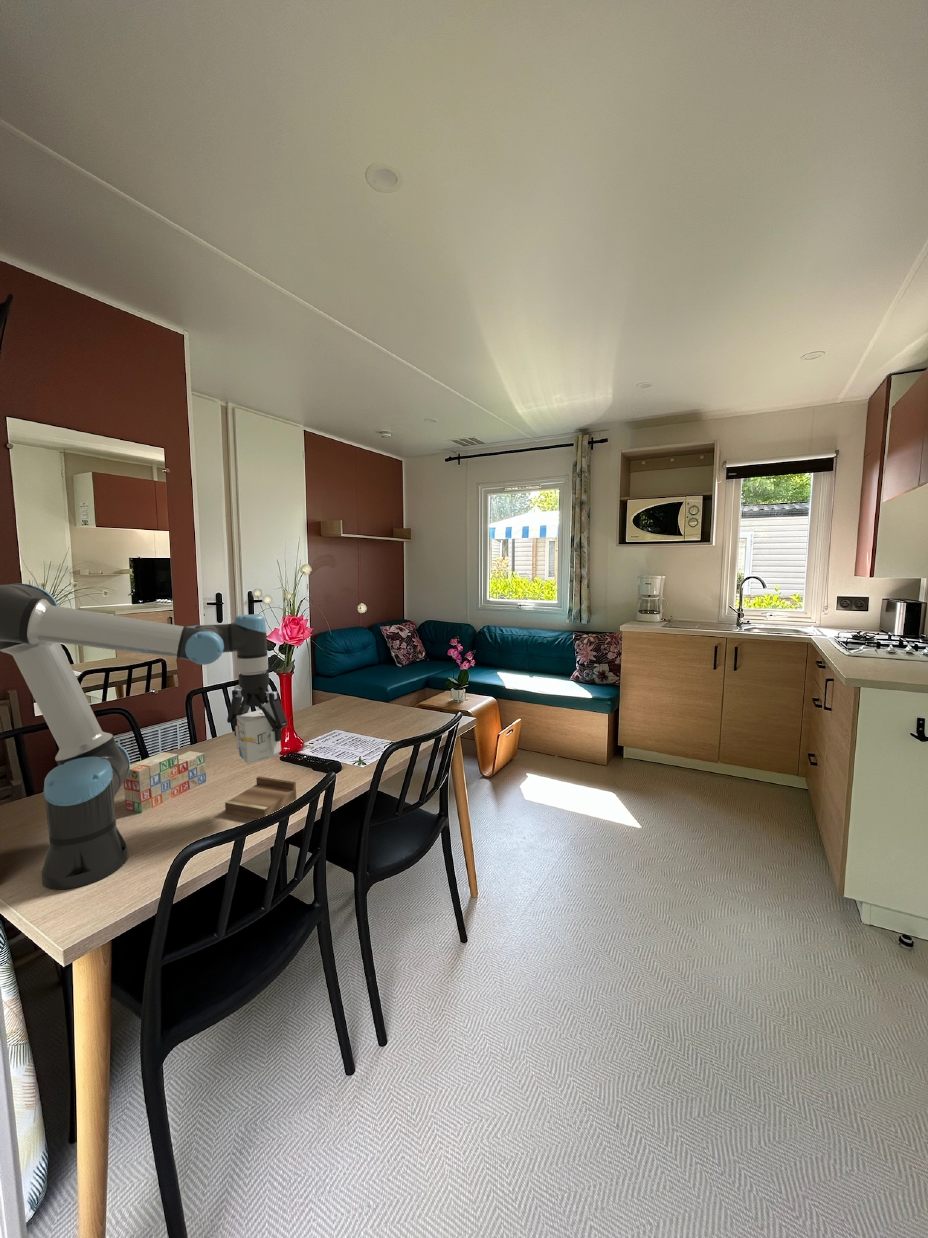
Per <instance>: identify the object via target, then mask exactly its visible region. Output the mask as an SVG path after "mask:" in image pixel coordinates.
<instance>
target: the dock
mask: <svg viewBox="0 0 928 1238" xmlns="http://www.w3.org/2000/svg"><path fill="white" fill-rule="evenodd" d="M255 781H256V784H255V785H253V786H251V787H250V788H248V789H246V790H244V791H242V792H241V793H239V794H238V795H236V796H235V797H233V798H231V799H229V800H227V801H225V802H224V804H225V805H224V806H225V807H224V809H225V814H227V815H232V816H238V817H244V818H249V819H253V820H259V818H262V817H265V816H266V815H269V814H271V813H273V812H275V811H277V810H279V809H280V808H282V807H283V806H285V807H287V806H288V805H290V804H291V803H293V802H294V801H295V800H296V799H297V784H296V781H291V780H284V779H278V778H272V777H266V776H265V777H264V776H257V777H256V780H255ZM286 805H287V806H286ZM282 809H283V808H282Z"/></svg>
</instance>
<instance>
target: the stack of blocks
mask: <svg viewBox="0 0 928 1238" xmlns="http://www.w3.org/2000/svg"><path fill="white" fill-rule="evenodd" d="M205 760H206V759H205V753H204V752H197V751H192V750H191V751H190V750H188V751H187V752H185V753H182V754H177V753H170V752H164V751H163V752H160V753H157V754H155V755H153V756H150V757H149V756H148V757H147V758H145V759H143V760H140V761H137V762H135V763H132V764H130V769H129V773H128V775H127V777H126V780H125V781H124V782H123V791H124V800H125V810H127V811H131V812H137V813H141V814H142V813H145V812H147V811H149V810H151V809H153V808H155V807H158V806H160V805H162V804H164V803H165V802H168V801H169V800H172V799H173V798H175V797H178V796H180V795H181V794H183V793H185V792H187V791H189V790H191V789H193V788H196V787H198V786H200V785H201V784H203V783H205V782H207V770H206V761H205Z"/></svg>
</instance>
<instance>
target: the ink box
mask: <svg viewBox="0 0 928 1238" xmlns="http://www.w3.org/2000/svg"><path fill="white" fill-rule="evenodd" d="M276 725H277V724H276ZM237 727H238V741H239V749H238V753H239V757H240V758H241V759H242V760H243V761H244V762H245V763H246V764H247V765H249V764H253V763H257V762H261V761H266V760H269V759H272V758H277V757H280V752H278V753H276V754H272V747H271V732H270V731H271V730H272V729H273V728H272V727H271V725H270V723H269V722H268V720H267V718H266V717H265V715H264V713H263V711H262V710H260V709H259V710H255V711H250V712H249V711H248V712H247V713H245V714H242V715H237Z"/></svg>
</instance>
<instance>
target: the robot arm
mask: <svg viewBox="0 0 928 1238" xmlns="http://www.w3.org/2000/svg"><path fill="white" fill-rule="evenodd" d="M267 641H268V640H267V628H266V619H265V617H264V616H263V615H262V614H257V613H256V614H254V613H253V614H242V615H241V614H240V615H236V616H235V617H234V621H233V622H232V623H224V624H203V625H202V624H197V625H190V626H183V625H179V624H178V625H177V624H172V623H164V622H158V621H153V620H152V621H151V620H145V619H140V618H133V617H126V616H120V615H115V614H110V613H109V614H107V613H101V612H96V611H90V610H83V609H77V608H76V609H75V608H70V607H64V606H59V604H58V602H57V600H56V598H55V597H54V596H53V595H52V594H51V593H50V592H49V591H47V590H45V589H43V588H41V587H39V586H36V585H32V584H29V583H16V582H15V583H10V584H0V652H2V653H4V654H5V653H6V654H9V655H11V656H12V658H13V659H14V661H15V663H16V665H17V667H18V669H19V671H20V673H21V675H22V677H23V679H24V681H25V683H26V685H27V687H28V689H29V691H30V693H31V695H32V697H33V699H34V701H35V703H36V704H37V706H38V709H39V711H40V712H41V714H42V716H43V719H44V720H45V723H46V725H47V726H48V728H49V730H50V732H51V734H52V736H53V738H54V740H55V743H56V744H57V746H58V751H57V754H56V755H55V758H54V759H55V761H56V763H57V766H56V767H53V769H52V770H50V771H49V772H48V773H47V774H46V777H45V778H44V782H43V783H44V784H43V786H44V787H43V796H44V798H45V799H44V800H45V812H46V821H47V830H48V839H49V841H48V842H49V845H48V849H47V852H46V854H45V855H46V856H45V859H44V862H43V866H42V869H41V873H40V874H41V882H42V885H43V887H45V888H48V889H51V890H67V889H68V890H69V889H73V888H78V887H82V886H86V885H89V884H92V883H95V882H97V881H100V880H103V879H105V878H107V877H108V876H110V875H112V874H113V873H115V872H117V870H119V869H120V868H122V867H123V866H124V865H125V864H126V862H127V861H128V858H129V849H128V845H127V843H126V841H125V838H124V837H123V836H122V834H121V831H120V830H119V828H118V827H117V818H116V816H117V815H116V806H115V796H116V795H117V793H118V792H119V790H120V788H121V787H122V785H124V781H125V780H126V777H127V775H128V773H129V769H130V765H131V759H130V756H129V754H128V751H127V750H126V749H125V748H124V747H123V746H121V745H119V744H118V743H117V742H116V740H115V738H114V735H113V733H111V732H105V731H103V730H102V728H101V726H100V724H99V722H98V720H97V718H96V715H95V713H94V711H93V709H92V707H91V705H90V702H89V701H88V699H87V697H86V695H85V693H84V692H85V691H84V690H83V688H82V686H81V684H80V683H79V680H78V678H77V677H76V674H75V672H74V669H73V668H72V665H71V663H70V661H69V660H68V657H67V655H66V653H65V650H64V648H63V646H62V644H64V645H65V644H66V645H72V646H73V645H74V646H81V647H82V646H83V647H88V648H89V647H90V648H97V649H106V650H112V651H120V652H129V653H135V654H141V655H150V656H158V657H159V656H160V657H166V658H173V659H179V660H185V661H191V662H192V663H195V664H196V665H202V666H203V665H205V666H206V665H210V664H213V663H214V662H216V661H217V660H219V658H220V657H222V654H224V653H233V652H234V653H235V652H236V655H237V656H236V657H237V672H238V673H239V674H238V687H239V688H236V689H233V690H231V701H230V706H229V711H228V715H227V719H226V721H227V723H228V724H232V726H233V731H234V737H235V739H236V750H239V741H238V727H237V715H242V714H245V713H249V710H250V708H251V707H255V708H258V709H259V710H262V711H263V713H264V715H265V717H266V718H267V720H268V722H269V723H270V725H271V727H272V728H273V729H272V730H271V731H270V732H271V747H272V754H276V753H278V752H279V753H280V752H281V751H282V745H281V744H282V743H281V741H282V740H283V733H282V732H283V730H282V729H284V728H285V727H288V725H289V722H288V720H287V717H286V715H285V712H284V709H283V706H282V704H281V700H280V694H279V691H278V690H275V691H270V690H269V684H270V673H269V671H268V669H269V660H268V659H269V658H268V643H267ZM276 724H277V725H276Z"/></svg>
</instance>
